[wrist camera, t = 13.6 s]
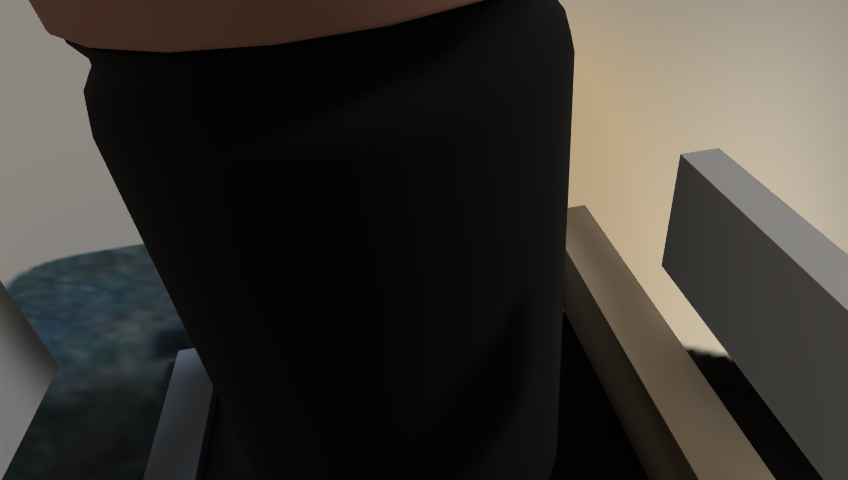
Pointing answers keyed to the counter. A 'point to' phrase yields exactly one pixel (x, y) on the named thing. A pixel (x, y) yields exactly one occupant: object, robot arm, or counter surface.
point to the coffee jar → (351, 217)
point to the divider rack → (608, 354)
